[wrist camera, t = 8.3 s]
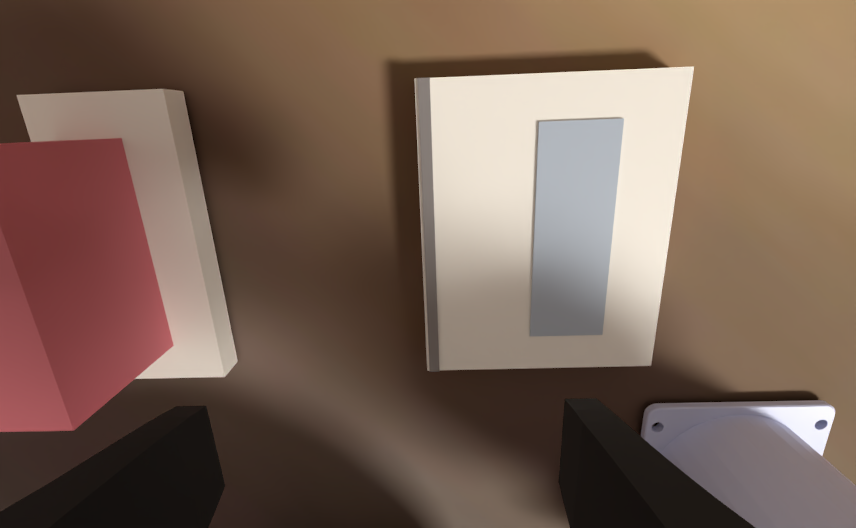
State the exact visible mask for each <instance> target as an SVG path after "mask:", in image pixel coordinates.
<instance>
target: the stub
mask: <svg viewBox="0 0 856 528" xmlns="http://www.w3.org/2000/svg"><path fill="white" fill-rule="evenodd" d="M16 96H17V99H18V102H19V105H20V108H21V112H22V115H23V118H24V121H25V124H26V127H27V131H28V134H29V137H30V140H31V142H19V143H0V432H25V431H74V430H75V429H76V428H78V427H79V426H80V425H81V424H82V423H83V422H85V421H86V420H87V419H88V418H89V417H90V416H92V415H93V414H94V413H95V412H96V411H97V410H99V409H100V408H101V407H102V406H103V405H105V404H106V403H107V402H108V401H109V400H110V399H112V398H113V397H114V396H115V395H116V394H117V393H119V392H120V391H121V390H122V389H123V388H124V387H126V386H127V385H128V384H129V383H130V382H132V381H133V380H134V379H152V378H199V377H225V376H226V375H227V374H228V373H229V371H230V370H231V369H232V368H233V367H234V365H235V364H236V363H237V362H238V360H237V356H236V351H235V346H234V341H233V336H232V331H231V326H230V321H229V316H228V311H227V306H226V301H225V296H224V291H223V286H222V281H221V276H220V271H219V266H218V261H217V256H216V251H215V246H214V241H213V236H212V231H211V226H210V221H209V216H208V212H207V207H206V202H205V197H204V192H203V187H202V182H201V177H200V172H199V167H198V162H197V157H196V152H195V147H194V142H193V137H192V132H191V127H190V122H189V117H188V112H187V107H186V102H185V97H184V92H183V91H178V90H169V89H146V90H122V91H99V92H75V93H52V94H29V95H16Z"/></svg>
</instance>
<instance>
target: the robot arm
mask: <svg viewBox="0 0 856 528" xmlns="http://www.w3.org/2000/svg"><path fill="white" fill-rule="evenodd" d="M834 416H835V409H834V407H833V406H831V405H830V404H828V403H827V402H825V401H822V400H807V401H754V402H700V403H656V404H652V405H650V406H648V407H647V408H646V409H645V411H644V416H643V423H642V429H641V436H640V435H638V434H637V433H636V432H635V431H634V430H633V429H631V428H630V427H629V426H628V425H627V424H626V423H625V422H623V421H622V420H621V419H620V418H619V417H618V416H616V415H615V414H614V413H613V412H612V411H611V410H609V409H608V408H607V407H606V406H605V405H604V404H602V403H601V402H600V401H599V400H597V399H565V404H564V418H563V431H562V445H561V458H560V472H559V484H560V489H561V493H562V497H563V501H564V505H565V509H566V513H567V517H568V521H569V525H570V528H856V485H855V484H853V483H852V482H851V481H850V480H849V479H848V478H847V477H845V476H844V475H843V474H842V473H841V472H840V471H839V470H837V469H836V468H835V467H834V466H833V465H832V464H831V463H829V462H828V461H827V460H826V459H825V458H824V457H822V455H823V451H824V448H825V445H826V442H827V438H828V435H829V432H830V429H831V426H832V422H833V419H834ZM658 422H659V423H658ZM655 423H658V424H657V425H656V426H652V425H653V424H655ZM224 487H225V484H224V479H223V475H222V471H221V467H220V463H219V458H218V454H217V450H216V446H215V441H214V437H213V433H212V429H211V425H210V420H209V416H208V412H207V408H206V406H178V407H175V408H173V409H171V410H169V411H167V412H165V413H164V414H162V415H160V416H158V417H156V418H155V419H153V420H151V421H150V422H148V423H146V424H145V425H143V426H141V427H140V428H138V429H136V430H135V431H133V432H131V433H130V434H128V435H127V436H125V437H123V438H122V439H120V440H118V441H117V442H115V443H114V444H112V445H110V446H109V447H107V448H106V449H104V450H102V451H101V452H99V453H98V454H96V455H94V456H93V457H91V458H89V459H88V460H86V461H85V462H83V463H81V464H80V465H78V466H76V467H75V468H73V469H72V470H70V471H68V472H67V473H65V474H64V475H62V476H60V477H59V478H57V479H55V480H54V481H52V482H50V483H49V484H47V485H45V486H44V487H42V488H40V489H39V490H37V491H35V492H34V493H32V494H30V495H28V496H27V497H25V498H23V499H22V500H20V501H18V502H16V503H15V504H13V505H11V506H10V507H8V508H6V509H5V510H3V511H1V512H0V528H208V527H209V524H210V522H211V520H212V517H213V515H214V513H215V510H216V507H217V505H218V502H219V500H220V497H221V495H222V492H223V490H224Z"/></svg>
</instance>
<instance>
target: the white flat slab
mask: <svg viewBox="0 0 856 528" xmlns="http://www.w3.org/2000/svg"><path fill="white" fill-rule="evenodd" d="M693 70H694V67H672V68H649V69H625V70H602V71H579V72H555V73H532V74H508V75H485V76H461V77H438V78H414V80H415V103H416V126H417V148H418V171H419V194H420V217H421V240H422V263H423V286H424V309H425V332H426V355H427V371H430V372H439V370H480V369H526V368H573V367H620V366H651V362H652V355H653V349H654V342H655V335H656V328H657V321H658V314H659V307H660V300H661V293H662V286H663V279H664V272H665V265H666V258H667V251H668V244H669V237H670V230H671V223H672V216H673V209H674V203H675V196H676V189H677V182H678V175H679V168H680V161H681V154H682V147H683V140H684V133H685V126H686V119H687V112H688V105H689V98H690V91H691V84H692V77H693Z"/></svg>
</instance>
